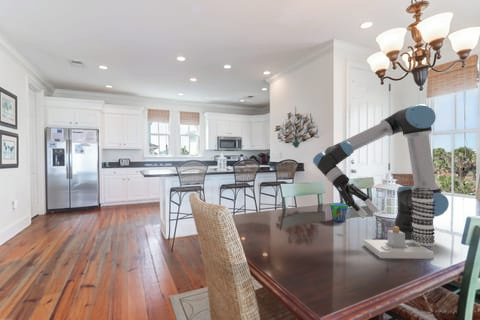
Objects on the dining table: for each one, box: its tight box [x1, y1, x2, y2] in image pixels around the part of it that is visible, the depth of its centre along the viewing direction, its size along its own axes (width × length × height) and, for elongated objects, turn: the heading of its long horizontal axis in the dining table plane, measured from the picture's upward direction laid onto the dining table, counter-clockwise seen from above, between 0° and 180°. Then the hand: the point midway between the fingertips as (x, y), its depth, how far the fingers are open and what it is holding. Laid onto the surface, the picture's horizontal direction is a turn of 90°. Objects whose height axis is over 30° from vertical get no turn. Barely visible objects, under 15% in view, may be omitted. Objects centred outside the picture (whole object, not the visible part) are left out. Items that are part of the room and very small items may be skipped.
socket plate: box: [363, 239, 435, 260], centre depth 101 cm, size 20×14×3 cm
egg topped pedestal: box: [386, 225, 406, 248], centre depth 101 cm, size 4×4×10 cm
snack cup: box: [329, 202, 349, 223], centre depth 151 cm, size 16×10×10 cm
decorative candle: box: [410, 187, 436, 247], centre depth 111 cm, size 9×9×25 cm
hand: (371, 213), depth 108 cm, fingers open, 13 cm apart
